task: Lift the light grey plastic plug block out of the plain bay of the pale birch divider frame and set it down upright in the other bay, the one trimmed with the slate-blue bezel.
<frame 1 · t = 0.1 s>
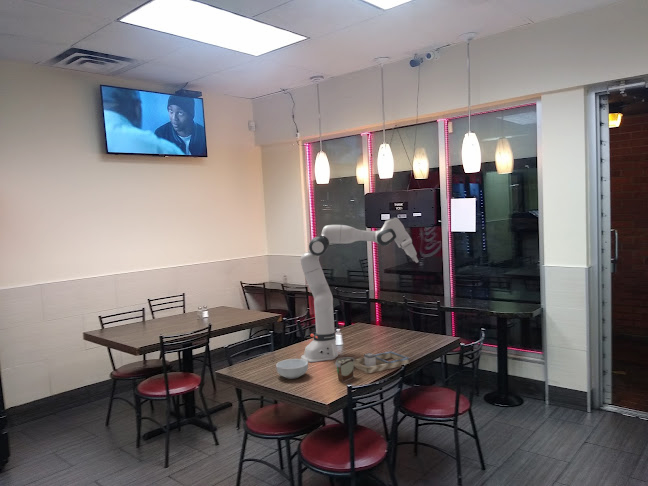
hand: (416, 261, 286), 54 cm above the table, tool tilted 30°, fingers open, 8 cm apart
food container: (343, 379, 247), on the table
plug block: (370, 367, 264), resting in divider frame
divider frame: (380, 364, 267), on the table
cereal bowl: (292, 376, 255), on the table
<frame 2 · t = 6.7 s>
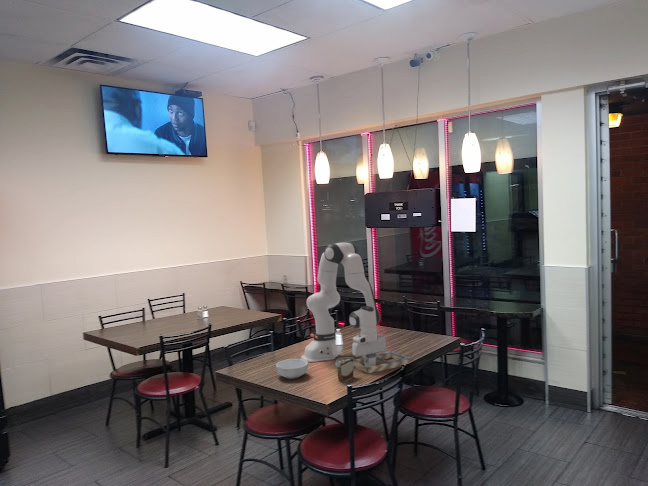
hand: (370, 361, 264), 3 cm above the table, tool pointing down, fingers closed on plug block, 4 cm apart
plug block: (370, 367, 264), resting in divider frame, touching gripper
everything else where it was.
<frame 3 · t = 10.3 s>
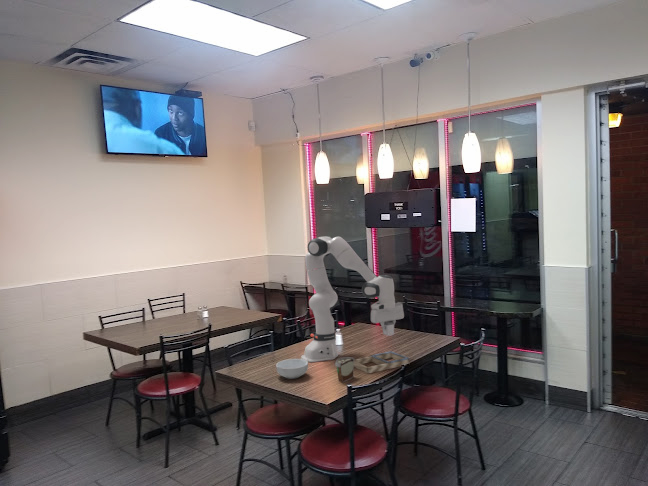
hand: (388, 328, 269), 19 cm above the table, tool pointing down, fingers closed on plug block, 4 cm apart
plug block: (388, 334, 269), point 16 cm above the table, touching gripper
everything else where it was.
when the fingers open (5 cm above the table, at t = 13.9 s): plug block drops 2 cm, resting in divider frame.
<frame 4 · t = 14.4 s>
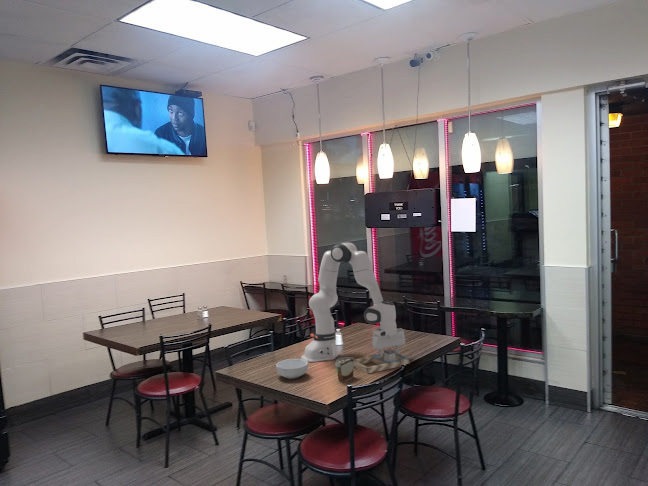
hand: (389, 354, 270), 5 cm above the table, tool pointing down, fingers open, 8 cm apart
plug block: (389, 362, 270), resting in divider frame
everything else where it was.
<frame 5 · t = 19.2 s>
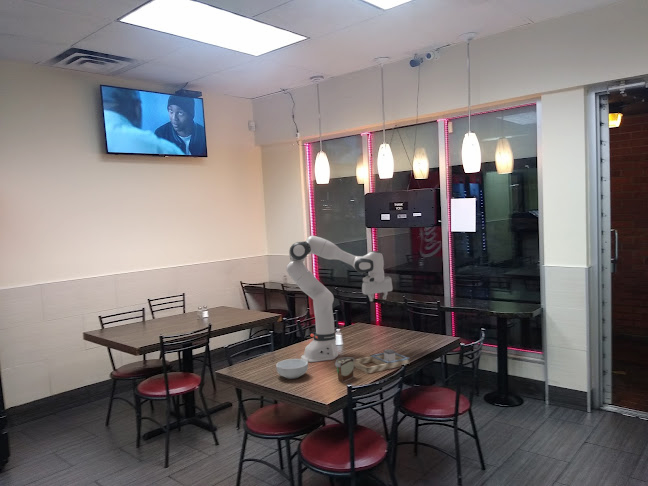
hand: (378, 300, 294), 31 cm above the table, tool pointing down, fingers open, 8 cm apart
nothing on the table moved.
at the end: plug block inside the target area on the divider frame (0.1 cm from its centre), point 0.0 cm above the divider frame's base; plug block tilted 0°; the gripper is holding nothing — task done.
